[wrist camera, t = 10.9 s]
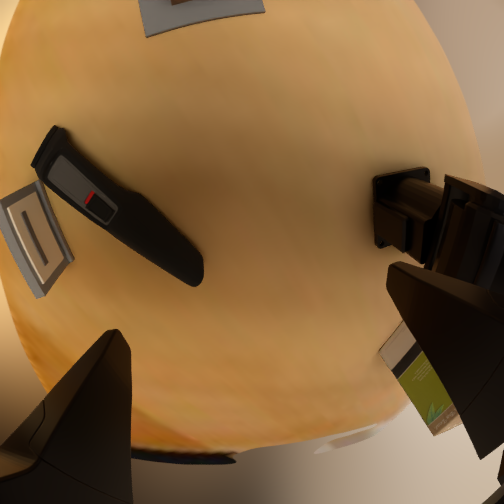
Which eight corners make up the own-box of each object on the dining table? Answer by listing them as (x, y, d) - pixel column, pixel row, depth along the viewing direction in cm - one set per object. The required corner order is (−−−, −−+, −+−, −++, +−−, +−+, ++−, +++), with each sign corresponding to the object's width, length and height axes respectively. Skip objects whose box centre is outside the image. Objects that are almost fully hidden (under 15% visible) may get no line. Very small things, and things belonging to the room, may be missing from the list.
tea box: (462, 311, 32) (517, 369, 19) (425, 358, 35) (470, 421, 22) (423, 288, 27) (503, 371, 14) (374, 351, 30) (431, 441, 17)
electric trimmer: (182, 280, 21) (182, 304, 18) (35, 162, 14) (13, 170, 11) (214, 247, 20) (217, 268, 18) (60, 120, 14) (38, 121, 11)
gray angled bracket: (41, 178, 15) (3, 197, 10) (74, 259, 18) (49, 294, 14) (17, 193, 15) (-20, 215, 10) (50, 268, 18) (23, 303, 13)
